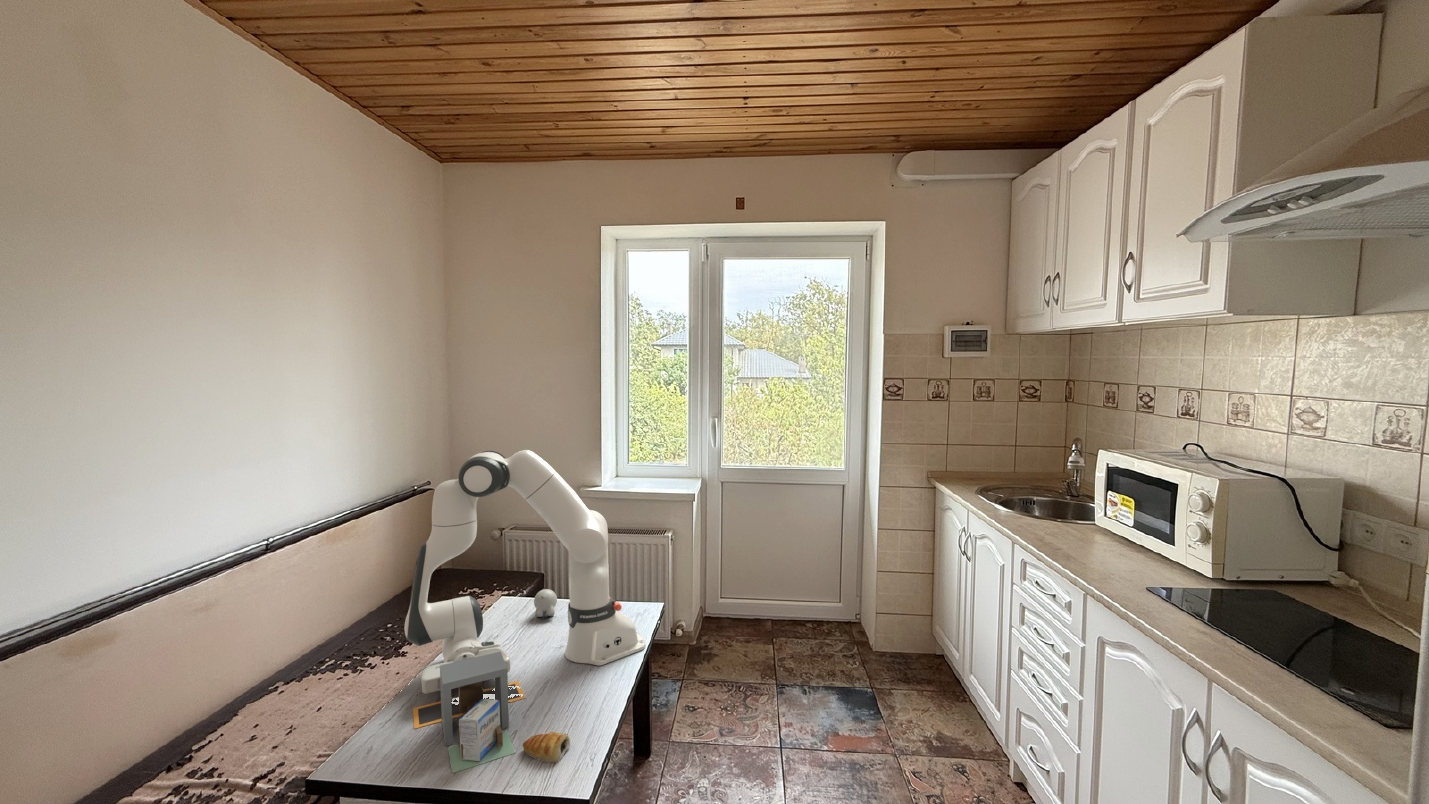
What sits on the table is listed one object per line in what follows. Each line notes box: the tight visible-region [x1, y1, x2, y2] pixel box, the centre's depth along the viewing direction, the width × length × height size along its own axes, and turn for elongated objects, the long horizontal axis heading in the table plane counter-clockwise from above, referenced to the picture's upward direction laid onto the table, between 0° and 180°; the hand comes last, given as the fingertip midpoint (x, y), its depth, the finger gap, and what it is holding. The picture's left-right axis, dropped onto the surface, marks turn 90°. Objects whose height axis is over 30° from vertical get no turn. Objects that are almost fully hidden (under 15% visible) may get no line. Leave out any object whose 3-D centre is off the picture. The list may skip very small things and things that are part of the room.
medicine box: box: [458, 699, 501, 761], centre depth 121 cm, size 8×4×9 cm, turn 168°
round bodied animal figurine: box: [533, 588, 558, 618], centre depth 190 cm, size 7×12×8 cm, turn 10°
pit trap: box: [412, 680, 526, 730], centre depth 138 cm, size 24×9×1 cm, turn 119°
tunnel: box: [440, 651, 510, 747], centre depth 129 cm, size 13×9×14 cm
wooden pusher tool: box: [456, 658, 503, 759], centre depth 128 cm, size 8×20×11 cm, turn 29°
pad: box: [447, 729, 516, 774], centre depth 121 cm, size 12×9×1 cm
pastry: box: [522, 731, 571, 763], centre depth 120 cm, size 9×7×4 cm
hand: (470, 685), depth 137 cm, fingers closed, pressing on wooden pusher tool
